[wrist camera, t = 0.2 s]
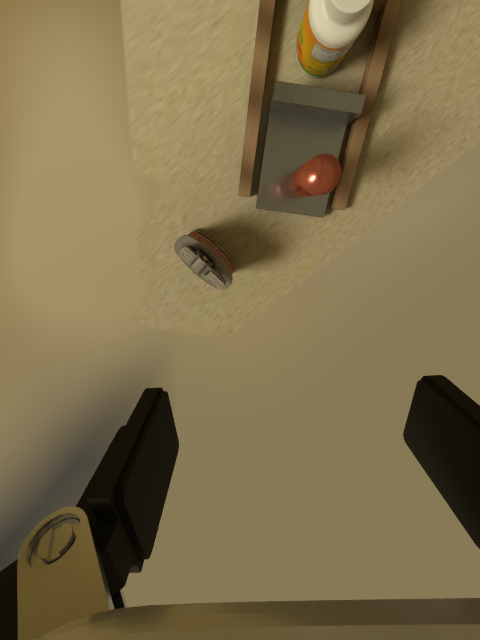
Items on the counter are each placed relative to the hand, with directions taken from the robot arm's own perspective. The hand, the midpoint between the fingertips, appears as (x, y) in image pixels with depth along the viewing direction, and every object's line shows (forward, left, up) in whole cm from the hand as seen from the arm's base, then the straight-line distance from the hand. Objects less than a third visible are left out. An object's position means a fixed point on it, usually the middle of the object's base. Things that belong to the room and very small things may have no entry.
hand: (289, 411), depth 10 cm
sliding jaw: (-13, +4, -30) cm, 33 cm away
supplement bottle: (-24, +4, -31) cm, 39 cm away
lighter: (0, -6, -31) cm, 31 cm away
